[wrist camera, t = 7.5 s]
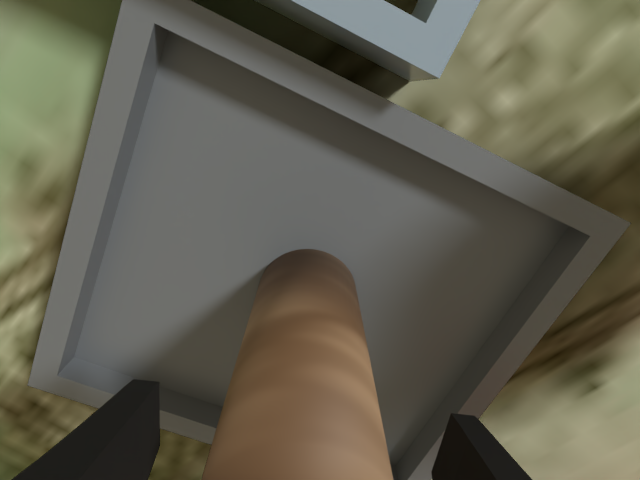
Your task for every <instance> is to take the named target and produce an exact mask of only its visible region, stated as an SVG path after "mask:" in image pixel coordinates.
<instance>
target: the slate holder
mask: <svg viewBox="0 0 640 480" xmlns="http://www.w3.org/2000/svg"><path fill="white" fill-rule="evenodd" d="M254 1H256V2H258V3H260V4H262V5H264V6H266V7H268V8H270V9H272V10H274V11H276V12H277V13H279V14H281V15H283V16H285V17H287V18H289V19H291V20H293V21H295V22H297V23H299V24H301V25H302V26H304V27H306V28H308V29H310V30H312V31H314V32H316V33H318V34H320V35H322V36H324V37H326V38H328V39H329V40H331V41H333V42H335V43H337V44H339V45H341V46H343V47H345V48H347V49H349V50H351V51H353V52H354V53H356V54H358V55H360V56H362V57H364V58H366V59H368V60H370V61H372V62H374V63H376V64H378V65H380V66H381V67H383V68H385V69H387V70H389V71H391V72H393V73H395V74H397V75H399V76H401V77H403V78H405V79H406V80H408V81H420V80H429V79H438V78H440V76H441V74H442V72H443V70H444V68H445V66H446V64H447V63H448V61H449V59H450V57H451V55H452V53H453V51H454V49H455V47H456V45H457V44H458V42H459V40H460V38H461V36H462V34H463V32H464V30H465V28H466V26H467V25H468V23H469V21H470V19H471V17H472V15H473V13H474V11H475V9H476V7H477V6H478V4H479V2H480V0H418V2H417V4H416V6H415V8H414V10H413V12H412V15H410V14H408V13H406V12H404V11H403V10H401V9H399V8H397V7H395V6H394V5H392V4H390V3H388V2H386V1H384V0H254Z"/></svg>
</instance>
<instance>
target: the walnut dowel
mask: <svg viewBox="0 0 640 480" xmlns="http://www.w3.org/2000/svg"><path fill="white" fill-rule="evenodd" d="M201 480H393V475H392V470H391V465H390V460H389V455H388V450H387V445H386V439H385V434H384V429H383V424H382V419H381V414H380V409H379V404H378V398H377V393H376V388H375V383H374V378H373V373H372V368H371V362H370V357H369V352H368V347H367V342H366V337H365V332H364V327H363V321H362V316H361V311H360V306H359V301H358V296H357V291H356V286H355V281H354V279H353V276H352V274H351V272H350V271H349V269H348V268H347V267H346V265H345V264H344V263H343V262H342V261H340V260H339V259H338V258H336V257H335V256H333V255H331V254H329V253H326V252H324V251H320V250H314V249H299V250H294V251H290V252H288V253H285V254H283V255H281V256H279V257H278V258H277V259H275V260H274V261H273V262H272V263H271V264H270V265H269V266H268V267H267V268H266V270H265V271H264V273H263V275H262V277H261V280H260V283H259V286H258V290H257V293H256V297H255V300H254V303H253V307H252V310H251V313H250V317H249V320H248V324H247V327H246V330H245V334H244V337H243V340H242V344H241V347H240V351H239V354H238V357H237V361H236V364H235V367H234V371H233V374H232V378H231V381H230V384H229V388H228V391H227V394H226V398H225V401H224V405H223V408H222V411H221V415H220V418H219V421H218V425H217V428H216V432H215V435H214V438H213V442H212V445H211V448H210V452H209V455H208V459H207V462H206V465H205V469H204V472H203V475H202V479H201Z"/></svg>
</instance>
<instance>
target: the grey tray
mask: <svg viewBox="0 0 640 480" xmlns="http://www.w3.org/2000/svg"><path fill="white" fill-rule="evenodd" d="M630 224H631V223H630V222H628V221H626V220H624V219H622V218H620V217H618V216H616V215H614V214H612V213H610V212H608V211H606V210H604V209H602V208H600V207H598V206H596V205H594V204H592V203H590V202H588V201H586V200H584V199H582V198H580V197H578V196H576V195H574V194H573V193H571V192H569V191H567V190H565V189H563V188H561V187H559V186H557V185H555V184H553V183H551V182H549V181H547V180H545V179H543V178H541V177H539V176H537V175H535V174H533V173H531V172H529V171H527V170H525V169H523V168H521V167H519V166H517V165H515V164H513V163H511V162H509V161H507V160H505V159H503V158H501V157H499V156H497V155H495V154H493V153H491V152H489V151H487V150H485V149H483V148H481V147H480V146H478V145H476V144H474V143H472V142H470V141H468V140H466V139H464V138H462V137H460V136H458V135H456V134H454V133H452V132H450V131H448V130H446V129H444V128H442V127H440V126H438V125H436V124H434V123H432V122H430V121H428V120H426V119H424V118H422V117H420V116H418V115H416V114H414V113H412V112H410V111H408V110H406V109H404V108H402V107H400V106H398V105H396V104H394V103H392V102H390V101H389V100H387V99H385V98H383V97H381V96H379V95H377V94H375V93H373V92H371V91H369V90H367V89H365V88H363V87H361V86H359V85H357V84H355V83H353V82H351V81H349V80H347V79H345V78H343V77H341V76H339V75H337V74H335V73H333V72H331V71H329V70H327V69H325V68H323V67H321V66H319V65H317V64H315V63H313V62H311V61H309V60H307V59H305V58H303V57H301V56H299V55H297V54H296V53H294V52H292V51H290V50H288V49H286V48H284V47H282V46H280V45H278V44H276V43H274V42H272V41H270V40H268V39H266V38H264V37H262V36H260V35H258V34H256V33H254V32H252V31H250V30H248V29H246V28H244V27H242V26H240V25H238V24H236V23H234V22H232V21H230V20H228V19H226V18H224V17H222V16H220V15H218V14H216V13H214V12H212V11H210V10H208V9H206V8H204V7H203V6H201V5H199V4H197V3H195V2H193V1H191V0H122V3H121V7H120V12H119V16H118V20H117V24H116V28H115V32H114V36H113V40H112V44H111V48H110V52H109V56H108V60H107V64H106V68H105V73H104V77H103V81H102V85H101V89H100V93H99V97H98V101H97V105H96V109H95V113H94V117H93V121H92V125H91V129H90V133H89V138H88V142H87V146H86V150H85V154H84V158H83V162H82V166H81V170H80V174H79V178H78V182H77V186H76V190H75V194H74V199H73V203H72V207H71V211H70V215H69V219H68V223H67V227H66V231H65V235H64V239H63V243H62V247H61V251H60V255H59V259H58V264H57V268H56V272H55V276H54V280H53V284H52V288H51V292H50V296H49V300H48V304H47V308H46V312H45V316H44V320H43V325H42V329H41V333H40V337H39V341H38V345H37V349H36V353H35V357H34V361H33V365H32V369H31V373H30V377H29V381H28V385H27V386H30V387H33V388H37V389H40V390H43V391H46V392H49V393H52V394H55V395H58V396H61V397H64V398H68V399H71V400H74V401H77V402H80V403H83V404H86V405H89V406H92V407H95V408H100V407H101V406H103V405H104V404H105V403H106V402H107V401H108V400H109V399H111V398H112V397H113V396H114V395H115V394H116V393H117V392H119V391H120V390H121V389H122V388H123V387H124V386H126V385H127V384H128V383H129V382H130V381H132V380H133V379H137V380H146V381H156V382H159V399H160V429H164V430H167V431H170V432H173V433H176V434H179V435H182V436H185V437H188V438H191V439H195V440H198V441H201V442H204V443H207V444H210V445H212V442H213V438H214V435H215V432H216V428H217V425H218V421H219V418H220V415H221V411H222V408H223V405H224V401H225V398H226V394H227V391H228V388H229V384H230V381H231V378H232V374H233V371H234V367H235V364H236V361H237V357H238V354H239V351H240V347H241V344H242V340H243V337H244V334H245V330H246V327H247V324H248V320H249V317H250V313H251V310H252V307H253V303H254V300H255V297H256V293H257V290H258V286H259V283H260V280H261V277H262V275H263V273H264V271H265V270H266V268H267V267H268V266H269V265H270V264H271V263H272V262H273V261H274V260H275V259H277V258H278V257H279V256H281V255H283V254H285V253H288V252H290V251H294V250H299V249H314V250H320V251H324V252H326V253H329V254H331V255H333V256H335V257H336V258H338V259H339V260H340V261H342V262H343V263H344V264H345V265H346V267H347V268H348V269H349V271H350V272H351V274H352V276H353V279H354V281H355V286H356V291H357V296H358V301H359V306H360V311H361V316H362V321H363V327H364V332H365V337H366V342H367V347H368V352H369V357H370V362H371V368H372V373H373V378H374V383H375V388H376V393H377V398H378V404H379V409H380V414H381V419H382V424H383V429H384V434H385V439H386V445H387V450H388V455H389V460H390V465H391V470H392V475H393V480H431V479H432V473H431V471H432V468H433V465H434V462H435V459H436V456H437V453H438V450H439V447H440V444H441V441H442V438H443V435H444V432H445V429H446V426H447V423H448V420H449V417H450V414H451V413H455V414H464V415H473V416H475V417H476V418H477V419H479V418H480V416H481V415H482V414H483V412H484V411H485V410H486V409H487V407H488V406H489V405H490V404H491V402H492V401H493V400H494V398H495V397H496V396H497V395H498V393H499V392H500V391H501V389H502V388H503V387H504V386H505V384H506V383H507V382H508V380H509V379H510V378H511V377H512V375H513V374H514V373H515V371H516V370H517V369H518V368H519V366H520V365H521V364H522V362H523V361H524V360H525V359H526V357H527V356H528V355H529V354H530V352H531V351H532V350H533V348H534V347H535V346H536V345H537V343H538V342H539V341H540V339H541V338H542V337H543V336H544V334H545V333H546V332H547V330H548V329H549V328H550V327H551V325H552V324H553V323H554V321H555V320H556V319H557V318H558V316H559V315H560V314H561V313H562V311H563V310H564V309H565V307H566V306H567V305H568V304H569V302H570V301H571V300H572V298H573V297H574V296H575V295H576V293H577V292H578V291H579V289H580V288H581V287H582V286H583V284H584V283H585V282H586V280H587V279H588V278H589V277H590V275H591V274H592V273H593V272H594V270H595V269H596V268H597V266H598V265H599V264H600V263H601V261H602V260H603V259H604V257H605V256H606V255H607V254H608V252H609V251H610V250H611V248H612V247H613V246H614V245H615V243H616V242H617V241H618V239H619V238H620V237H621V236H622V234H623V233H624V232H625V231H626V229H627V228H628V227H629V225H630Z"/></svg>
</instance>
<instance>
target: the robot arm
mask: <svg viewBox="0 0 640 480" xmlns="http://www.w3.org/2000/svg"><path fill="white" fill-rule="evenodd" d="M159 446H160V399H159V382H156V381H146V380H137V379H133V380H132V381H130V382H129V383H128V384H127V385H126V386H124V387H123V388H122V389H121V390H120V391H119V392H117V393H116V394H115V395H114V396H113V397H112V398H111V399H109V400H108V401H107V402H106V403H105V404H104V405H103V406H101V407H100V408H99V409H98V410H97V411H96V412H95V413H93V414H92V415H91V416H90V417H89V418H88V419H86V420H85V421H84V422H83V423H82V424H80V425H79V426H78V427H77V428H76V429H74V430H73V431H72V432H71V433H70V434H68V435H67V436H66V437H65V438H64V439H62V440H61V441H60V442H59V443H57V444H56V445H55V446H54V447H53V448H51V449H50V450H49V451H48V452H46V453H45V454H44V455H43V456H41V457H40V458H39V459H38V460H36V461H35V462H34V463H32V464H31V465H30V466H29V467H27V468H26V469H25V470H23V471H22V472H21V473H19V474H18V475H17V476H15V477H14V478H13V479H12V480H148V477H149V475H150V472H151V469H152V466H153V464H154V461H155V458H156V455H157V452H158V449H159ZM431 473H432V479H433V480H532V479H531V478H530V477H529V476H528V475H527V473H526V472H525V471H524V470H523V469H522V468H521V467H520V466H519V465H518V463H517V462H516V461H515V460H514V459H513V458H512V457H511V456H510V454H509V453H508V452H507V451H506V450H505V449H504V448H503V447H502V445H501V444H500V443H499V442H498V441H497V440H496V439H495V437H494V436H493V435H492V434H491V433H490V432H489V431H488V430H487V428H486V427H485V426H484V425H483V424H482V423H481V422H480V421H479V420H478V419H477V418H476V417H475V416H473V415H464V414H455V413H451V414H450V417H449V420H448V423H447V426H446V429H445V432H444V435H443V438H442V441H441V444H440V447H439V450H438V453H437V456H436V459H435V462H434V465H433V468H432V471H431Z"/></svg>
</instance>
